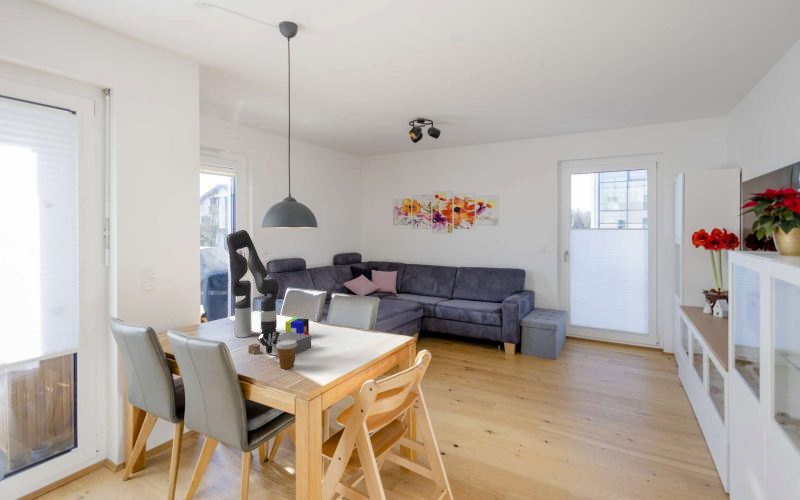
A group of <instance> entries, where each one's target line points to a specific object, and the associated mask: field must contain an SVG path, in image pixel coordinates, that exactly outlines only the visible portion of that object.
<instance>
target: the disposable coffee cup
mask: <svg viewBox="0 0 800 500" xmlns="http://www.w3.org/2000/svg"><path fill="white" fill-rule="evenodd" d="M276 346H277V349H278V361H279V369H281V370H291V369H293V368H295V360H296V355H295V353H296V346H297V343H296V340H292V339H286V340H281V341H278V342H277V345H276Z"/></svg>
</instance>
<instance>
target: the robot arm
mask: <svg viewBox="0 0 800 500" xmlns="http://www.w3.org/2000/svg"><path fill="white" fill-rule="evenodd" d="M226 245H227V246H226V247H227V250H228V257H229V269H230V278H231V279H230V281H231V286H230V289H231V293H232V296H234V297H244V298H243V299H241V300H238V301H237V302H235V303H234V320H233V335H234V337H235V338H247V337H252V333H253V332H252V331H253V330H252V298H251V297H252V283H251V281H250V280H246V279H245V280H241V279H242V278H244V277H245V276H246V275H247V273H248V270H249V272H250V273H251V275H252V277H253V279H254V283H255V287H256V289H257V292H258V293H259V294H261V295H267V296H266V297H264V298H262V299H261V301H260V329H261V332H260V334H261V335H260V336H257V338H256V339H257V340H258V342H260V343H259V344H260V345H262V347H263V346H266V352H267V353H266V354H268V355H271V354H270V353H272V345H273V344H275V343H276V341H277V339H278V337H279V335H280V334H281V333H280V332H278V331H277V309H276V308H277V307H276V306H277V298H278V294H279V290H280V285H279V282H278V280H277V279H275V278H269V279H268V278H267V276H268V270H267V268H266V267H265V265H264V263H263V261H262V260H261V258H260V256H259V254H258V252H257V249H256V247H255V244H254V243H253V240H252V237H251V236H250V234H249V233H248V231H247V230H245V229H241V230H237V231H234V232H230V233H228V234H227V235H226ZM245 248H247V249H248V259H247V258H246V257H245V256H243V255H242V254H241V253H239V252H238V250H242V249H245ZM266 278H267V279H266Z"/></svg>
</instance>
